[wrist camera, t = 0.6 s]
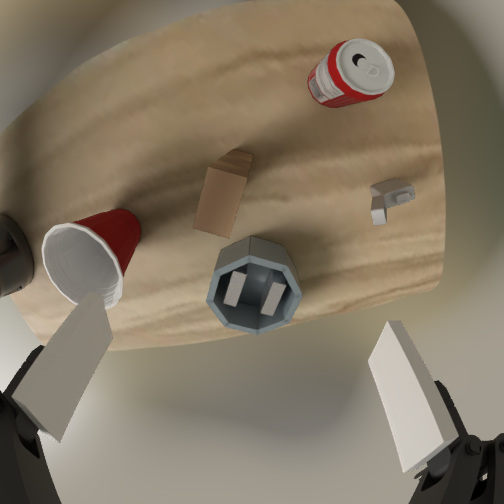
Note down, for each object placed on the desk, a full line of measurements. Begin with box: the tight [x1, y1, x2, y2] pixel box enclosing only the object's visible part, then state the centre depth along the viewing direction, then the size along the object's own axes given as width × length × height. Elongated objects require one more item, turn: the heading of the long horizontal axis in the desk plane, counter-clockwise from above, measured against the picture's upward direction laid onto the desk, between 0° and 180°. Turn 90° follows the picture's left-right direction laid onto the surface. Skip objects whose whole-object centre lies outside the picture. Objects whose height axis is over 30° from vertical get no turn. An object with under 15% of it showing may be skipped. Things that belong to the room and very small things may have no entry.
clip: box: [223, 263, 286, 316], centre depth 34 cm, size 6×5×4 cm
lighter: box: [370, 178, 415, 226], centre depth 28 cm, size 7×2×8 cm, turn 111°
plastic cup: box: [42, 209, 141, 310], centre depth 29 cm, size 11×11×12 cm
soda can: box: [308, 38, 395, 108], centre depth 21 cm, size 6×6×12 cm
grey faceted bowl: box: [206, 236, 303, 335], centre depth 34 cm, size 11×11×6 cm
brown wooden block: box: [193, 149, 253, 238], centre depth 23 cm, size 2×4×16 cm, turn 163°
